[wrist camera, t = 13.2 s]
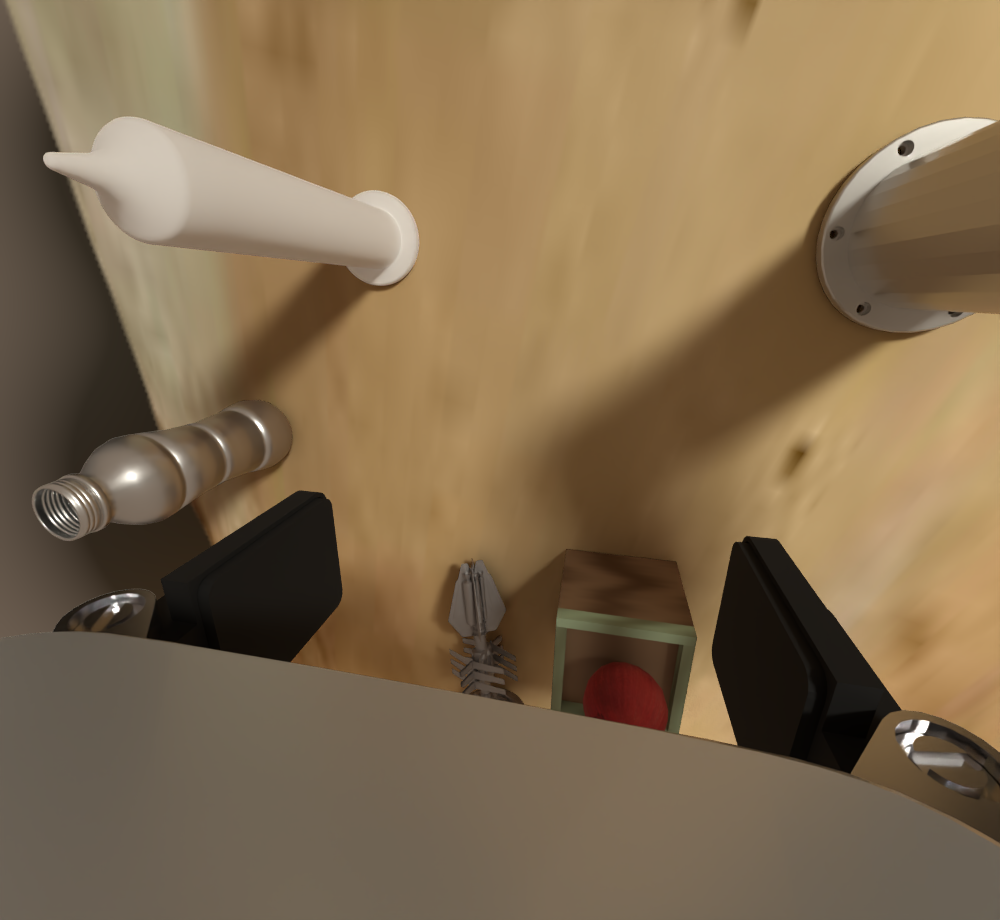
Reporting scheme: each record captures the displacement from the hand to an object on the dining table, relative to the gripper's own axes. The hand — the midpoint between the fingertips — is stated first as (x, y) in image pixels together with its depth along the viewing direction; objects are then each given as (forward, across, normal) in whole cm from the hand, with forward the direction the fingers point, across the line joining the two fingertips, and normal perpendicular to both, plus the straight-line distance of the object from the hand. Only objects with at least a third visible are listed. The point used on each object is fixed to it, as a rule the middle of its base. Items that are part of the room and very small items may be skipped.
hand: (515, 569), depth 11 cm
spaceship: (+31, +7, +36) cm, 47 cm away
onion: (+22, -5, +22) cm, 31 cm away
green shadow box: (+30, -5, +22) cm, 38 cm away
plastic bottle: (+31, +30, +7) cm, 43 cm away
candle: (+31, +17, -10) cm, 36 cm away
